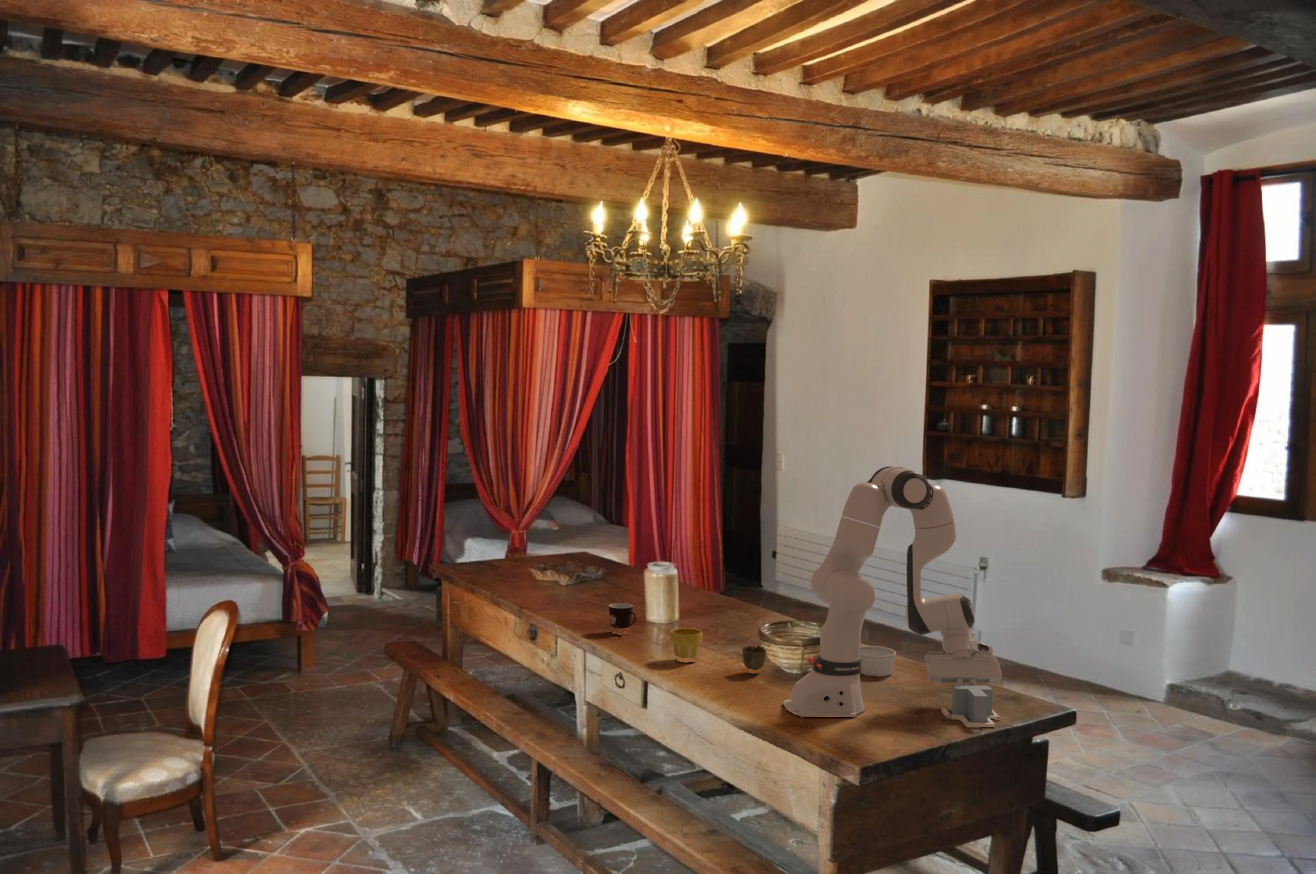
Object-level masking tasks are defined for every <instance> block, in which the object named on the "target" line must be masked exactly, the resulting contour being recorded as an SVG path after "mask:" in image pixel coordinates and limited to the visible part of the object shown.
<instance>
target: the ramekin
mask: <svg viewBox="0 0 1316 874" xmlns="http://www.w3.org/2000/svg"><path fill="white" fill-rule="evenodd" d="M896 656H897V653H896V651H895V650H894V649H892V648H889V647H886V646H878V645H877V646H876V645H862V646H861V645H860V658H861V667H862V669H861V675H862V674H864V675H863V676H865V675H867V676H866V677H871V676H876V677H875V678H882V677H883V676H884V677H887V676H890V675H891V674H892V673H893V671H894V667H895V666H894V665H895V661H896ZM877 676H878V677H877Z"/></svg>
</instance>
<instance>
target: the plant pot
mask: <svg viewBox="0 0 1316 874" xmlns="http://www.w3.org/2000/svg"><path fill="white" fill-rule="evenodd" d="M669 634H670V637H669V638H670V640H669V641H670V642H671V643H672V647H673V653H674V656H675V655H676V656H678V657H681V658H694V657H696V656H697V655H698V654H699V649H700V645H701V643H702V642H703V631H702V630H701V629H697V628H693V627H692V628H691V627H680V628H673V629H671V630H670V633H669ZM697 657H698V656H697Z"/></svg>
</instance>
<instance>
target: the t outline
mask: <svg viewBox="0 0 1316 874" xmlns="http://www.w3.org/2000/svg"><path fill="white" fill-rule="evenodd" d="M941 713H942V714H943V715H944V716H945V718H946V719H947V720H960V722H962V723H963V725H964V726H965V727H966V728H980V727H995V728H996V723H994V720H991V719H1000V715H999V714H998V713H996V711H995V710H993V709H992V715H987V723H975V722H970V721H969V720H968V719H967V718H965V717H964V716H963V715H952V713H950V712H949V711H948V710H947V708H941ZM1000 720H1001V719H1000Z"/></svg>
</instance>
